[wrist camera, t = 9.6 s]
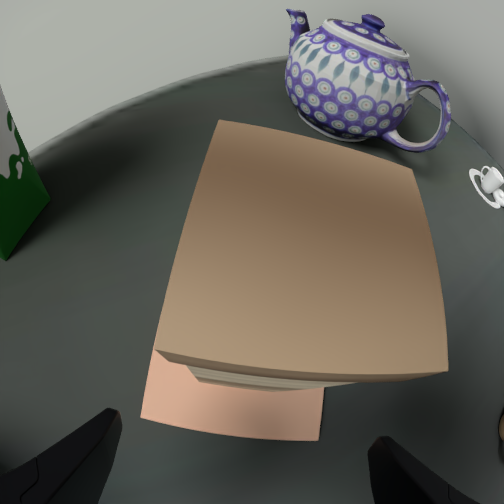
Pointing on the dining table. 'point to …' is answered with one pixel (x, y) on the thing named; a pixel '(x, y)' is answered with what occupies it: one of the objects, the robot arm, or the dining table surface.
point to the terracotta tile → (228, 406)
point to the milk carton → (16, 185)
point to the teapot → (355, 82)
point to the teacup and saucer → (490, 185)
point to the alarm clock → (501, 428)
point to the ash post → (302, 268)
